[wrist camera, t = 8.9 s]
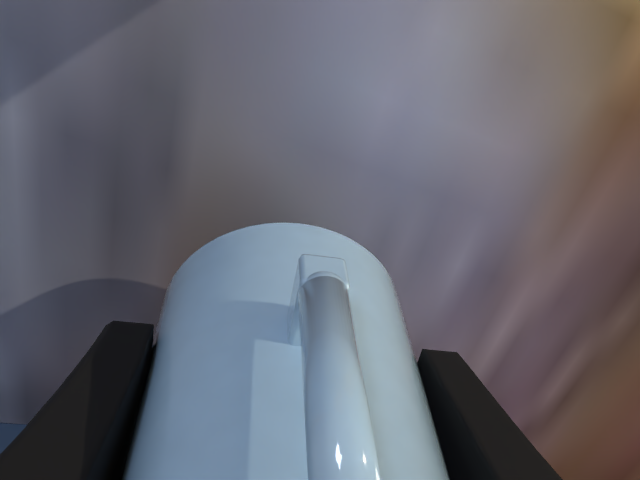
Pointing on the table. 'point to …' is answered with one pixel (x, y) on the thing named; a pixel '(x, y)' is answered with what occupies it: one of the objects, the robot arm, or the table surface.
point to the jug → (282, 368)
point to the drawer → (9, 433)
